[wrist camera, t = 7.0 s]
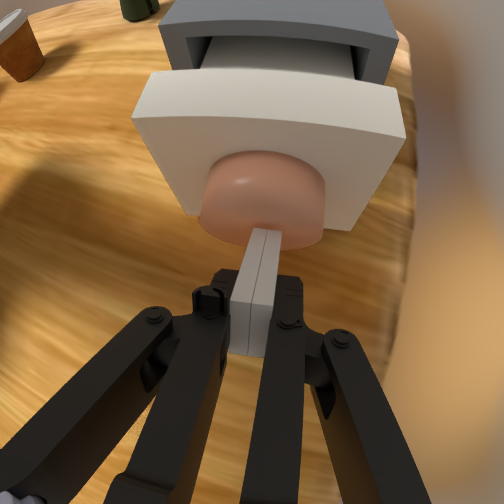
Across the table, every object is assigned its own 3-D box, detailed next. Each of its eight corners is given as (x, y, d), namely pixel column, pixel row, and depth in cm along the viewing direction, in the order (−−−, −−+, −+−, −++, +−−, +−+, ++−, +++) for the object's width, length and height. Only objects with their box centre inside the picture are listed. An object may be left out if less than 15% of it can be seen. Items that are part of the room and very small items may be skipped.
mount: (352, 165, 27) (399, 39, 13) (199, 151, 28) (158, 25, 14) (344, 59, 31) (362, -40, 18) (229, 50, 32) (214, -48, 19)
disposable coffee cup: (34, 52, 39) (8, 12, 27) (61, 50, 37) (33, 2, 26) (2, 89, 36) (-30, 49, 25) (25, 89, 35) (-10, 42, 23)
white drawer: (348, 268, 23) (414, 196, 11) (179, 250, 24) (110, 169, 13) (344, 77, 29) (363, -15, 17) (224, 68, 30) (209, -24, 19)
